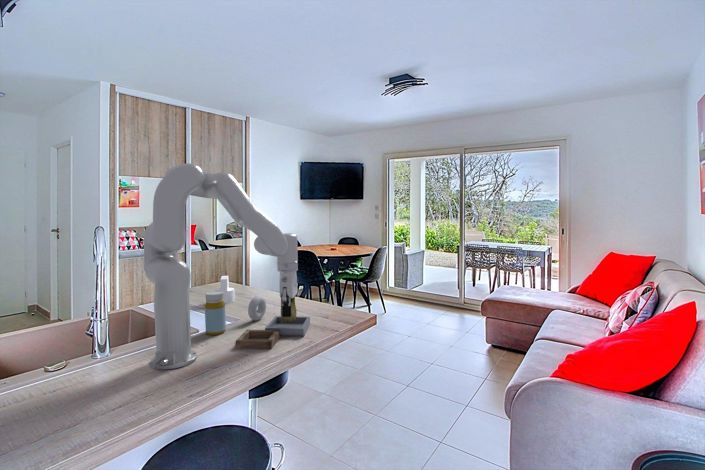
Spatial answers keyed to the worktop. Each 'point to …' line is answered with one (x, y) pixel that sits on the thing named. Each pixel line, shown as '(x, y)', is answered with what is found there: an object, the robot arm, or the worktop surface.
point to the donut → (252, 309)
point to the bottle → (215, 313)
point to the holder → (258, 344)
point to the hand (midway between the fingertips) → (288, 313)
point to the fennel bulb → (293, 311)
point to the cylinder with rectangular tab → (226, 290)
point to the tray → (290, 326)
